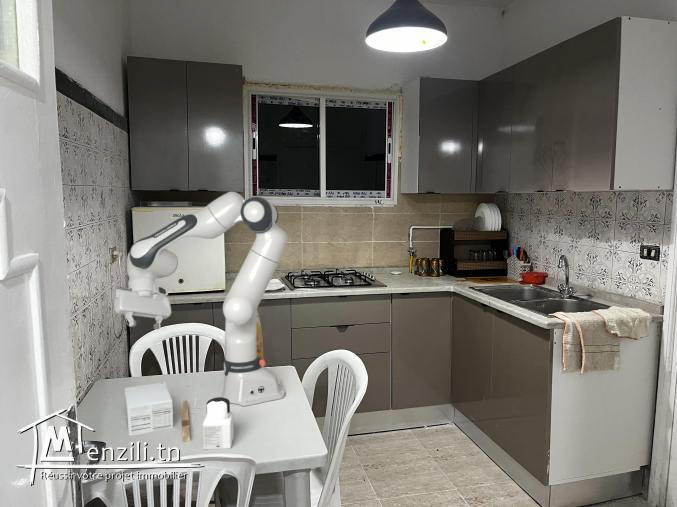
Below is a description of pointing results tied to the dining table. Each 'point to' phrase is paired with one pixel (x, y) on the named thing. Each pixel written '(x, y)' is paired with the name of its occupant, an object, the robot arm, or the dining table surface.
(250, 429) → the dining table surface
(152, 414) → the supplement box
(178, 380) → the dining table surface
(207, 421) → the container
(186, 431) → the guide rail
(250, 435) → the dining table surface
